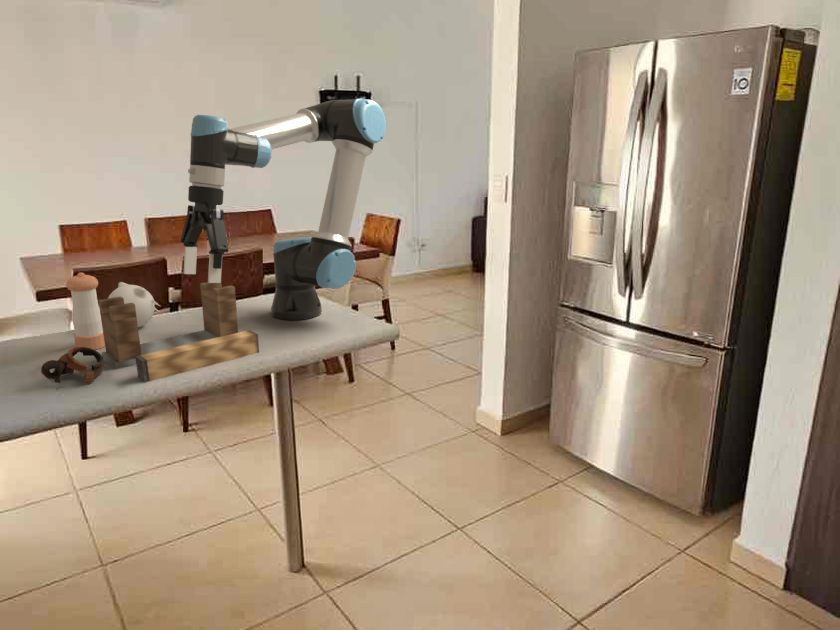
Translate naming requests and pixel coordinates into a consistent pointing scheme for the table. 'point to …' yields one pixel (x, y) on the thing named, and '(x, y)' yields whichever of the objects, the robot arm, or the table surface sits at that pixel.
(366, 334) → the table surface
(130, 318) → the wooden u-shaped stand
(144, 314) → the cat head
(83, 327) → the pepper shaker
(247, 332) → the bed rail
